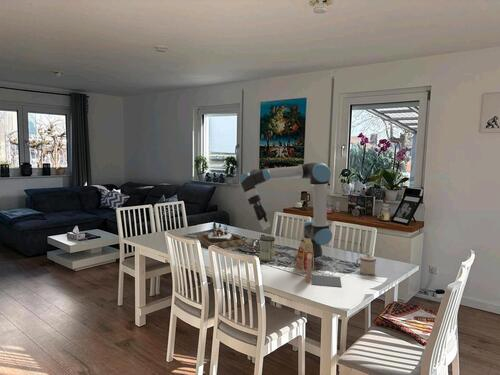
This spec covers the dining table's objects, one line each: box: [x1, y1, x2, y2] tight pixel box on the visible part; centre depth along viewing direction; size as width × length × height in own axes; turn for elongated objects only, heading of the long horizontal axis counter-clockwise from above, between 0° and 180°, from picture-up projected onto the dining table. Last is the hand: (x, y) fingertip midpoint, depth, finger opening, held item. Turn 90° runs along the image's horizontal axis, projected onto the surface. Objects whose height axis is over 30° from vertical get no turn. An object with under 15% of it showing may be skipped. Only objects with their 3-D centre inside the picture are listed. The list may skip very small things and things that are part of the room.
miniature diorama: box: [207, 220, 234, 243], centre depth 290 cm, size 20×20×17 cm
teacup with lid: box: [356, 253, 377, 275], centre depth 228 cm, size 12×9×12 cm
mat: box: [311, 274, 342, 288], centre depth 211 cm, size 16×15×1 cm
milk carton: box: [294, 236, 315, 272], centre depth 232 cm, size 9×9×20 cm
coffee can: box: [259, 235, 276, 262], centre depth 251 cm, size 10×10×14 cm
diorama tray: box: [196, 231, 246, 249], centre depth 291 cm, size 28×28×4 cm
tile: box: [305, 253, 313, 284], centre depth 212 cm, size 3×10×14 cm, turn 169°
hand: (266, 228), depth 231 cm, fingers open, 13 cm apart
